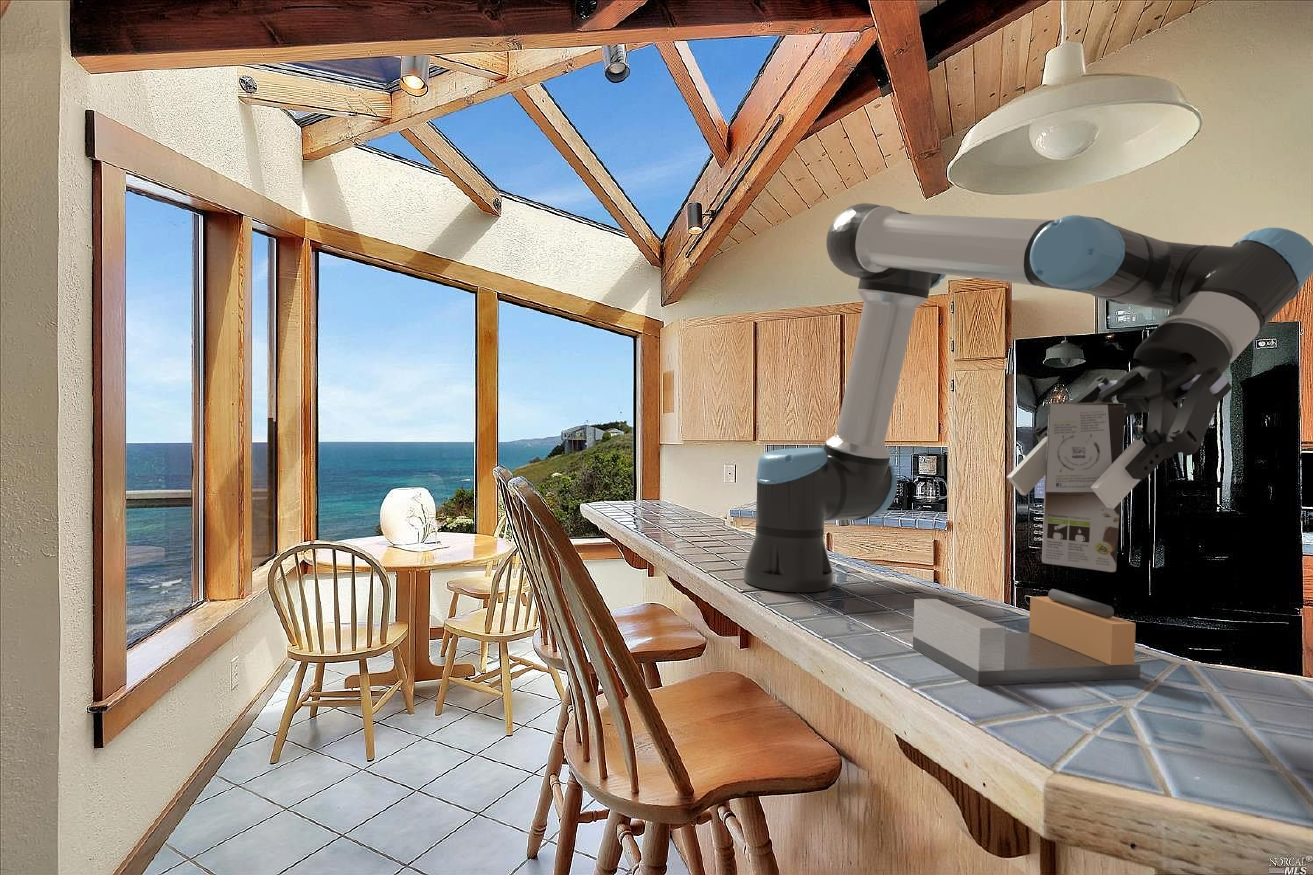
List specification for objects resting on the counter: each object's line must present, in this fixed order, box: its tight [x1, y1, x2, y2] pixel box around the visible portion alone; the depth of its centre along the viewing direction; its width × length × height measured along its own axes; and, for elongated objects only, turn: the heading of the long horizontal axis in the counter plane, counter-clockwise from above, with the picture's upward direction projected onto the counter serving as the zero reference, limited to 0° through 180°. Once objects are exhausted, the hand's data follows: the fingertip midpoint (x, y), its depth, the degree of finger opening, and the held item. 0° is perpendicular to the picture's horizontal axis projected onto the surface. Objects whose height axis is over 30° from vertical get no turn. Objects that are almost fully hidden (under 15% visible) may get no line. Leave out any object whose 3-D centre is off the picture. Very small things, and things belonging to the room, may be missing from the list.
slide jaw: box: [1028, 588, 1136, 665], centre depth 78 cm, size 12×3×6 cm, turn 11°
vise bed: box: [912, 598, 1141, 687], centre depth 77 cm, size 12×20×6 cm, turn 101°
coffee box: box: [1041, 402, 1126, 573], centre depth 67 cm, size 9×6×16 cm
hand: (1055, 491), depth 67 cm, fingers closed on coffee box, 10 cm apart
